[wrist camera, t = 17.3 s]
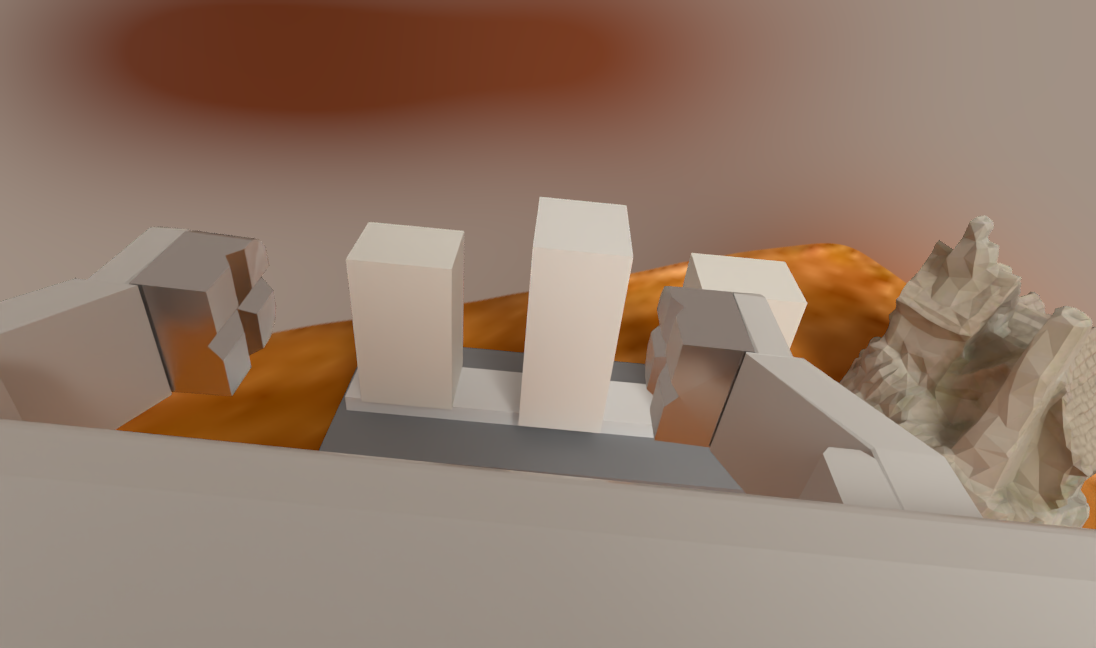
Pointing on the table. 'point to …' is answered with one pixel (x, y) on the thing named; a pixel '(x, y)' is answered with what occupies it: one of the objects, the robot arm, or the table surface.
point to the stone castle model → (990, 383)
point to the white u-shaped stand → (502, 372)
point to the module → (574, 312)
